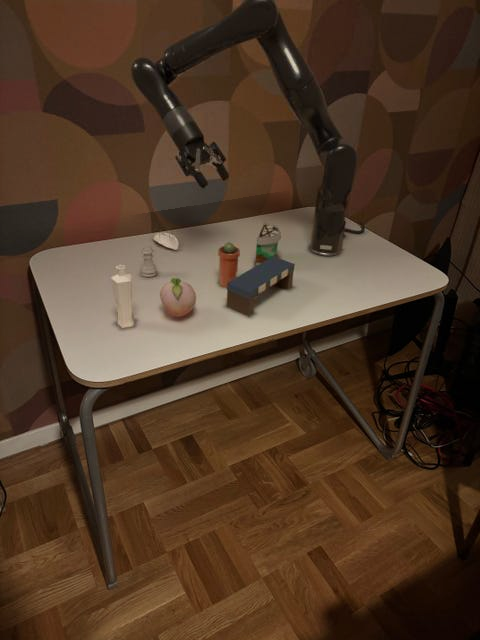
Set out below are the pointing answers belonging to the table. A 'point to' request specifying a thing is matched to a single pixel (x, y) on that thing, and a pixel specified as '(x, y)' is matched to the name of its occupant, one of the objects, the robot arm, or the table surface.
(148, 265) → the rook chess piece
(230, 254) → the pot
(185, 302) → the decorative fruit
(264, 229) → the wedge shaped tart
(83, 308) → the table surface
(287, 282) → the dark blue bench
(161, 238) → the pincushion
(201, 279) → the table surface
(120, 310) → the perfume bottle
